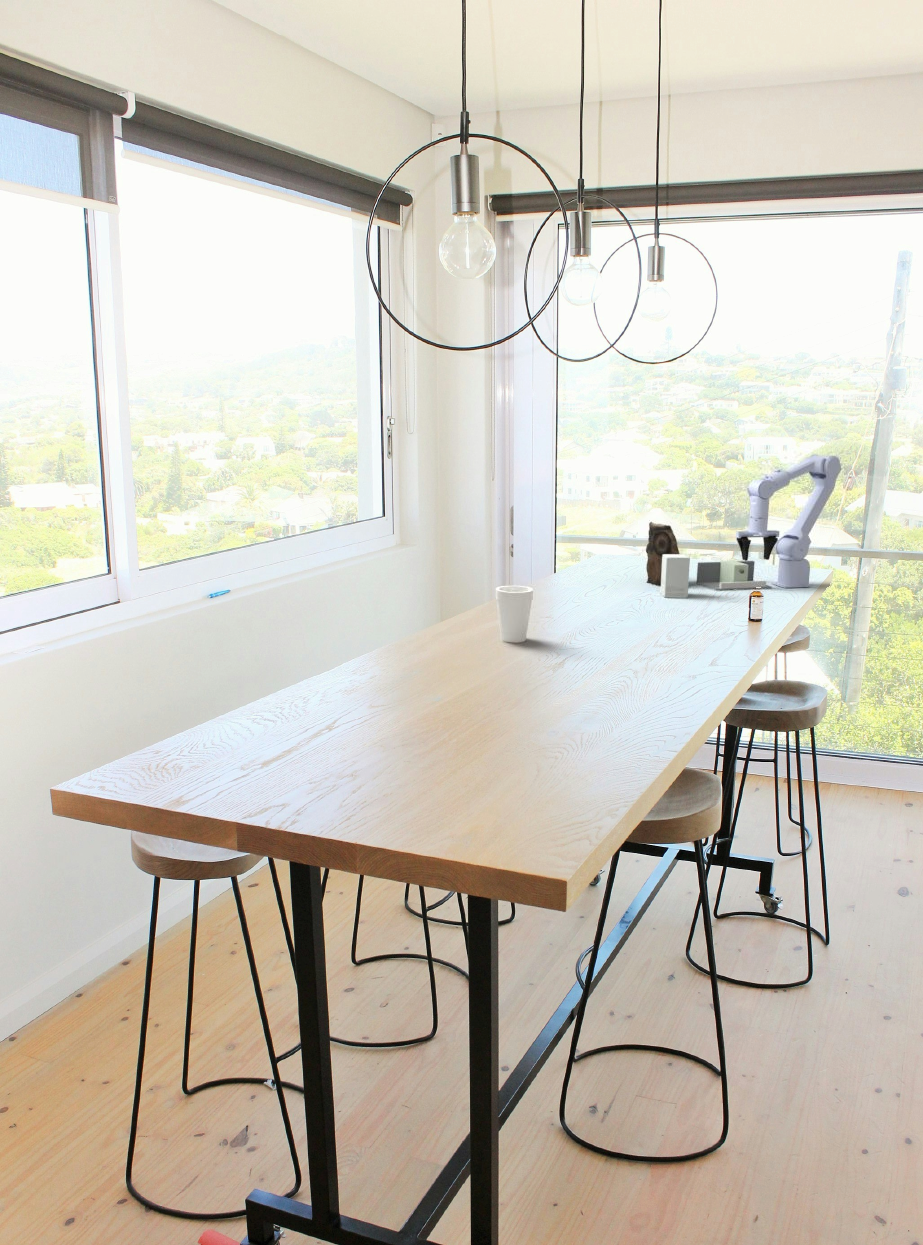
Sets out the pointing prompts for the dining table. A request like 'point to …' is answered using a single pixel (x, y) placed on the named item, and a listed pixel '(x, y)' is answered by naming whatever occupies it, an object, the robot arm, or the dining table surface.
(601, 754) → the dining table surface
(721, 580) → the cabinet block
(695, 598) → the dining table surface
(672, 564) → the supplement box
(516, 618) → the foam cup
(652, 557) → the owl
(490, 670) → the dining table surface
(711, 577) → the grey piece
